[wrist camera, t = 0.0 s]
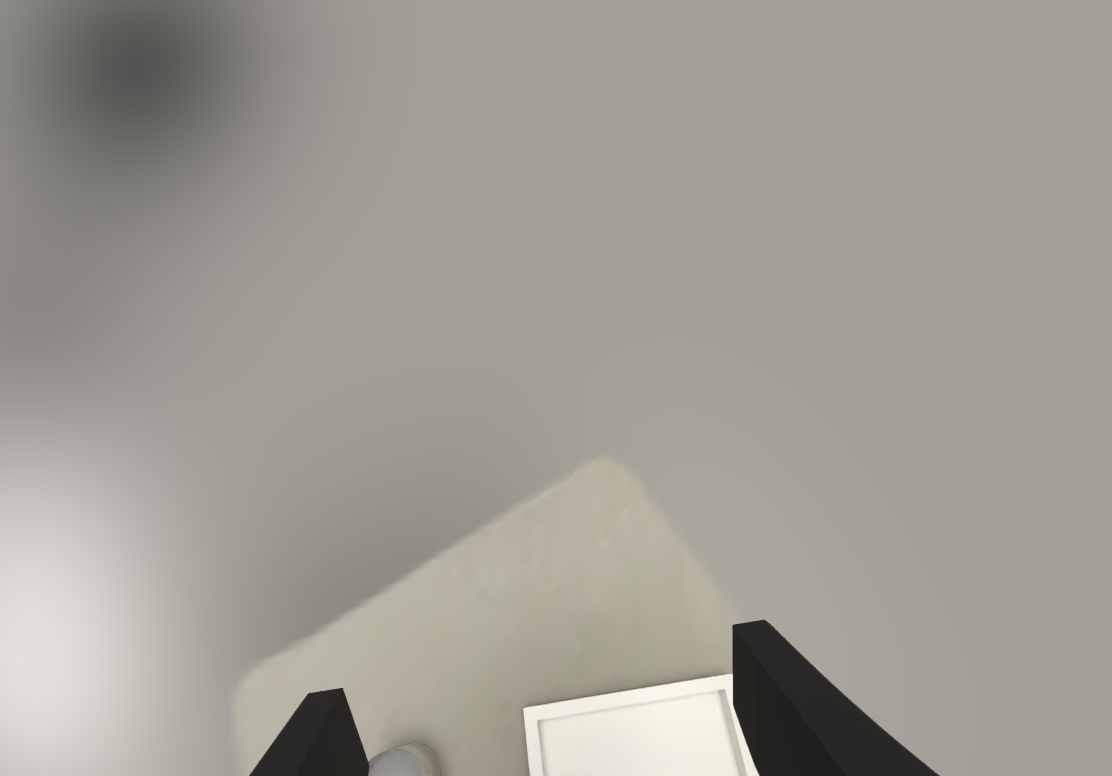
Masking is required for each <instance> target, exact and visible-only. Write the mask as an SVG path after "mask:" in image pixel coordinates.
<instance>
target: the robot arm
mask: <svg viewBox="0 0 1112 776" xmlns="http://www.w3.org/2000/svg"><path fill="white" fill-rule="evenodd" d="M733 707H734V710H735V713H736V716H737V718H738V721H739V724H740V727H741V730H742V733H743V735H744V738H745V741H746V744H747V746H748V749H749V752H750V755H751V757H752V760H753V763H754V765H755V768H756V770H757V772H758V774H759V776H939V775H938V774H937V773H935V772H934V771H933V770H932V769H930V768H929V767H928V766H927V765H926V764H924V763H923V762H922V761H921V760H919V759H918V758H917V757H916V756H915V755H913V754H912V753H911V752H910V751H908V750H907V749H906V748H905V747H904V746H902V745H901V744H900V743H899V742H898V741H896V740H895V739H894V738H893V737H892V736H890V735H889V734H888V733H887V732H886V731H885V730H883V729H882V728H881V727H880V726H879V725H877V723H875V722H874V721H873V720H872V719H871V718H870V717H869V716H868V715H866V714H865V713H864V712H863V711H862V710H861V709H860V708H858V707H857V706H856V705H855V704H854V703H853V702H852V701H851V700H850V699H848V698H847V697H846V696H845V695H844V694H843V693H842V692H841V691H840V690H838V689H837V688H836V687H835V686H834V685H833V684H832V683H831V682H830V681H829V680H828V679H827V678H825V677H824V676H823V675H822V674H821V673H820V672H819V671H818V670H817V669H816V668H815V667H814V666H813V665H812V664H810V663H809V661H808V660H807V659H805V658H804V657H803V656H802V655H801V654H800V653H799V652H798V651H797V650H796V649H795V648H794V647H793V646H792V645H791V644H790V643H789V642H788V641H787V640H786V639H785V638H784V637H783V636H782V635H781V634H780V633H779V632H778V631H777V630H775V628H774V627H773V626H772V625H771V624H770V623H768V622H767V621H766V620H760V621H753V622H747V623H741V624H735V625H733ZM369 767H370V766H369V763H368V760H367V757H366V754H365V751H364V748H363V745H362V743H361V740H360V737H359V734H358V731H357V728H356V725H355V722H354V719H353V716H352V714H351V711H350V708H349V705H348V702H347V699H346V696H345V693H344V690H343V688H339V689H333V690H327V691H320V692H314V693H309V694H308V695H307V696H306V697H305V699H304V700H303V701H302V703H301V704H300V705H299V707H298V708H297V710H296V711H295V712H294V714H293V715H292V717H291V718H290V719H289V721H288V722H287V724H286V725H285V726H284V728H283V729H282V731H281V732H280V733H279V735H278V736H277V738H276V739H275V740H274V742H273V743H272V745H271V746H270V747H269V749H268V750H267V752H266V753H265V754H264V756H263V757H262V759H261V760H260V761H259V763H258V764H257V766H256V767H255V768H254V770H253V771H252V773H251V774H250V775H249V776H368V774H369Z"/></svg>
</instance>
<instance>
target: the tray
mask: <svg viewBox="0 0 1112 776" xmlns="http://www.w3.org/2000/svg"><path fill="white" fill-rule="evenodd" d="M523 711H524V721H525V731H526V741H527V751H528V761H529V771H530V776H759V774H758V772H757V770H756V768H755V765H754V763H753V760H752V757H751V755H750V752H749V749H748V746H747V744H746V741H745V738H744V735H743V733H742V730H741V727H740V724H739V721H738V718H737V716H736V713H735V710H734V707H733V674H722V675H716V676H710V677H704V678H698V679H692V680H686V681H680V682H674V683H668V684H662V685H656V686H650V687H644V688H638V689H632V690H626V691H619V692H613V693H607V694H601V695H595V696H589V697H583V698H577V699H571V700H565V701H559V702H553V703H547V704H541V705H535V706H529V707H525V708H523Z"/></svg>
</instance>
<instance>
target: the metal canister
mask: <svg viewBox="0 0 1112 776" xmlns="http://www.w3.org/2000/svg"><path fill="white" fill-rule="evenodd" d="M368 763H369V766H370V767H369V774H368V776H441V767H440V763H439V760H438V758H437V756H436V755H435V753H434V752H433V751H432V750H431V749H430V748H429V747H427V746H426V745H423V744H420V743H409V744H406V745H403V746H400V747H397V748H394V749H391V750H388V751H385V752H383V753H380V754H378V755H377V756H375V757H374V758H372V759H371V760H370V761H369V762H368Z"/></svg>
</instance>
